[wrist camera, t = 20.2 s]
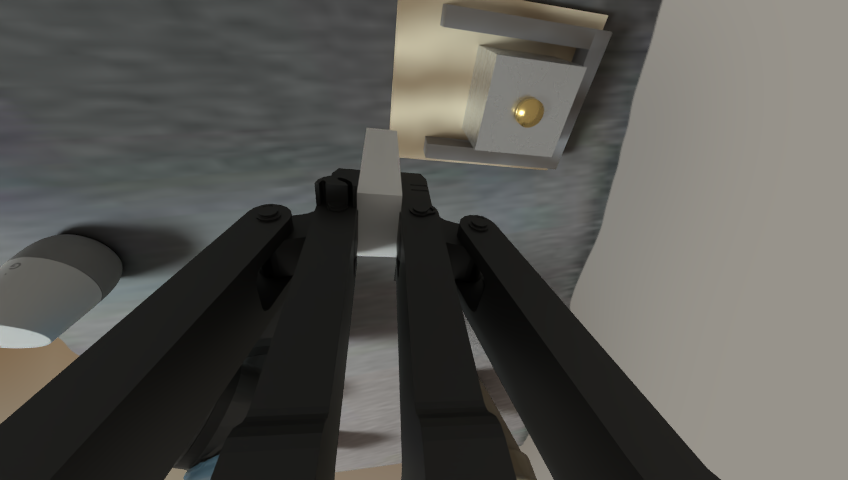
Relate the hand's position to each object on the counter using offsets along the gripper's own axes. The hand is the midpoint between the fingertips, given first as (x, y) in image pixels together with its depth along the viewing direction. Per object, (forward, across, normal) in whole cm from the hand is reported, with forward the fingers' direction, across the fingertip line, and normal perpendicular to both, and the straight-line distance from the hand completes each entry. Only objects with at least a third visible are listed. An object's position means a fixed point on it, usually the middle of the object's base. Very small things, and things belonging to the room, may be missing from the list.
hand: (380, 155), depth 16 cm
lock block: (+19, -13, 0) cm, 23 cm away
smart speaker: (+21, +38, +26) cm, 50 cm away
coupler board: (+20, -11, 0) cm, 23 cm away
